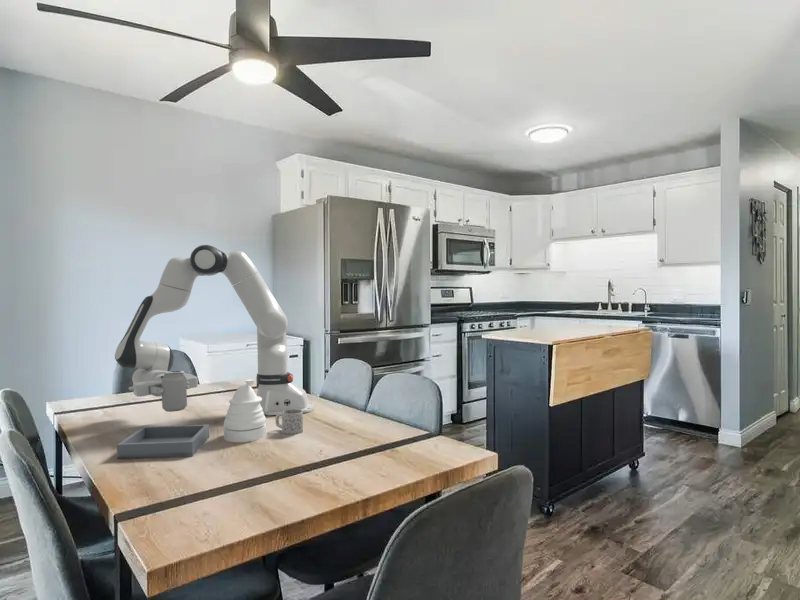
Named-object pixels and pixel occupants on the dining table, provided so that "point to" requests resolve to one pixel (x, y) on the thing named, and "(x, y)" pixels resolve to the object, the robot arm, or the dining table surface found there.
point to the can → (174, 392)
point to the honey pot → (245, 416)
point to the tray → (163, 441)
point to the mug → (290, 421)
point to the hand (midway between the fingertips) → (175, 388)
